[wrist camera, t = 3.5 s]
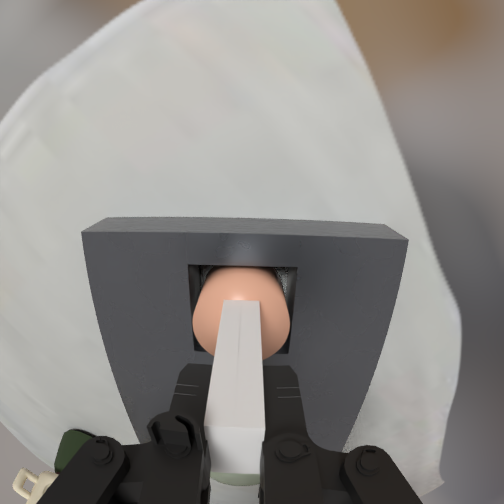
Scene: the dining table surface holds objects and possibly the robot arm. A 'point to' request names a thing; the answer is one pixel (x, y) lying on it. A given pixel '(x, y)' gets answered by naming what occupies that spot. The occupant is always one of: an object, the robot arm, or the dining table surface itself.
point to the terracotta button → (242, 288)
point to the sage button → (236, 478)
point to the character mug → (64, 455)
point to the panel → (245, 254)
